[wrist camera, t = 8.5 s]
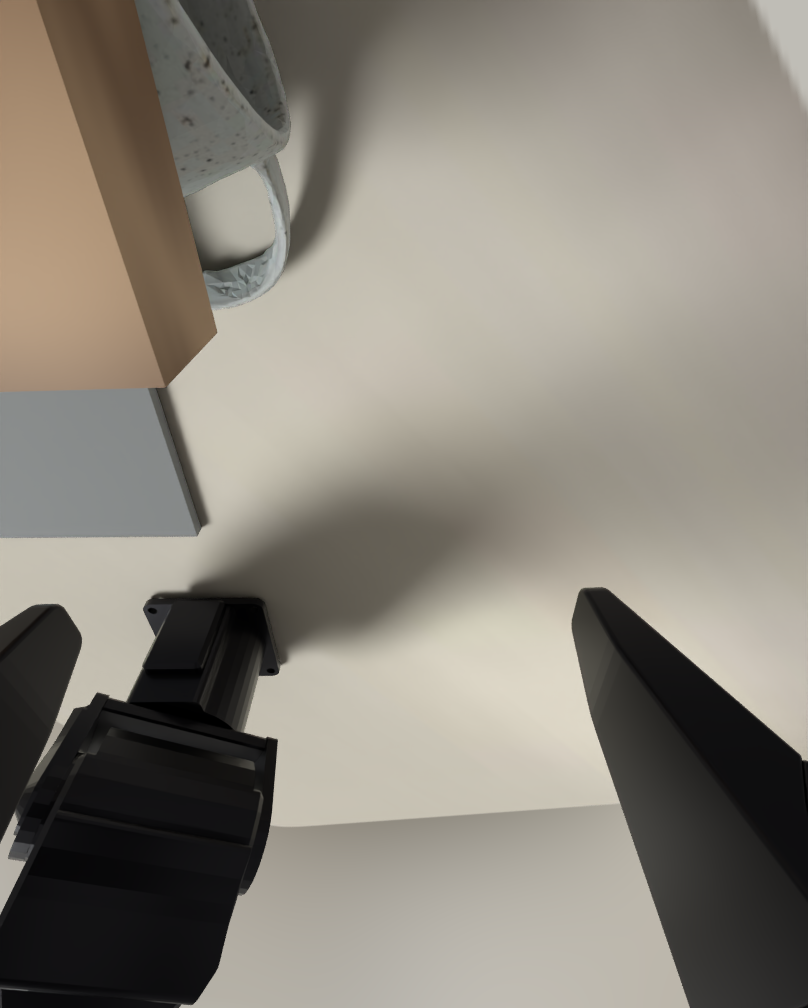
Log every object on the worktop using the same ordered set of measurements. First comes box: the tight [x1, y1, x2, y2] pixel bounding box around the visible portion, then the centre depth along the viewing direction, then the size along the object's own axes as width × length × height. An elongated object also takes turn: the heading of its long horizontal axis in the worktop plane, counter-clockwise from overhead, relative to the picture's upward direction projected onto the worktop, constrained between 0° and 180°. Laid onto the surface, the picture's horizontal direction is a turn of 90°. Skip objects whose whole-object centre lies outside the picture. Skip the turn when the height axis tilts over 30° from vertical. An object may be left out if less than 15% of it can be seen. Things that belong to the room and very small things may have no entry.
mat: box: [0, 388, 201, 538], centre depth 20 cm, size 12×12×1 cm
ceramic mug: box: [134, 0, 291, 310], centre depth 12 cm, size 11×8×8 cm
